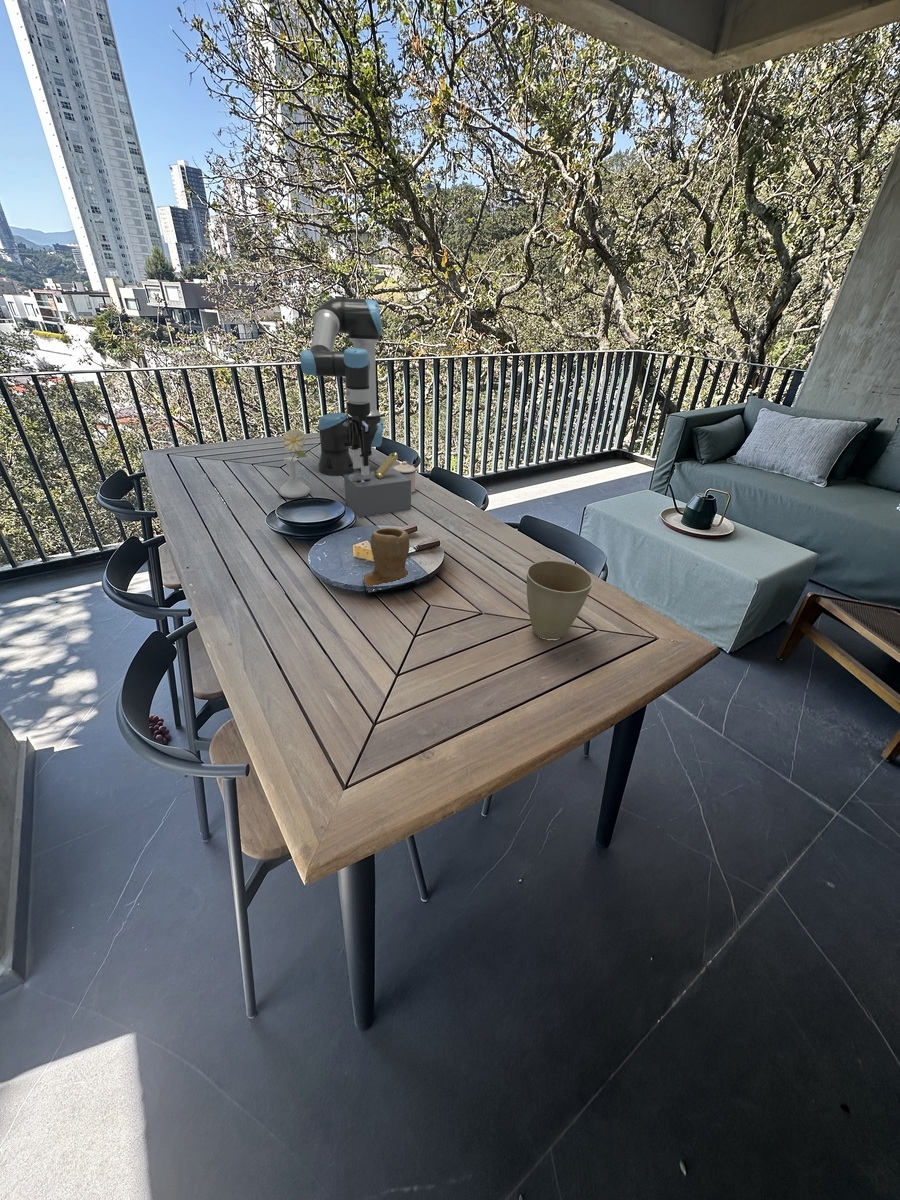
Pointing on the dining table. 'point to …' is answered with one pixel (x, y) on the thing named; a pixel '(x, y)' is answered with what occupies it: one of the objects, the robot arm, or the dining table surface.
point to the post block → (378, 494)
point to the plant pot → (555, 596)
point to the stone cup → (388, 556)
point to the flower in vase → (293, 465)
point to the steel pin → (360, 477)
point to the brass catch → (386, 465)
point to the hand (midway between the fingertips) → (361, 471)
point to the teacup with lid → (407, 473)
